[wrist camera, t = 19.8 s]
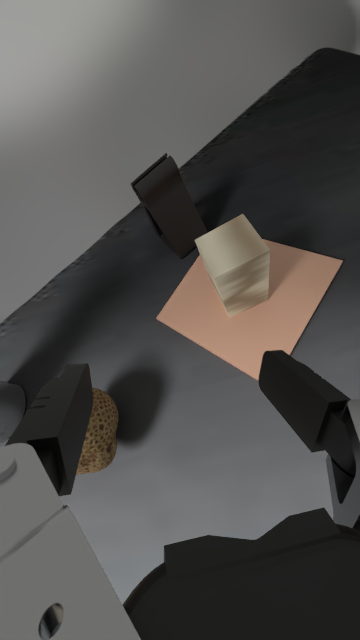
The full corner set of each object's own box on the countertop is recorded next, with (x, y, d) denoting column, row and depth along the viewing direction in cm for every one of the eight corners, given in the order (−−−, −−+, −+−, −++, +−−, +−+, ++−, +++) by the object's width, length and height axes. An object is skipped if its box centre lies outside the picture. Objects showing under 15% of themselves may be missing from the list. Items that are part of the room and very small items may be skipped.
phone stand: (209, 237, 36) (187, 165, 25) (181, 260, 36) (148, 199, 25) (181, 213, 40) (152, 143, 30) (156, 233, 40) (118, 172, 30)
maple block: (229, 317, 29) (214, 278, 20) (213, 287, 31) (194, 240, 22) (268, 300, 28) (270, 250, 19) (248, 269, 30) (242, 213, 22)
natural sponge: (97, 383, 33) (37, 373, 24) (145, 401, 29) (95, 398, 20) (71, 447, 30) (-6, 463, 22) (121, 476, 27) (52, 509, 18)
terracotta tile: (157, 320, 33) (156, 318, 33) (219, 229, 35) (218, 227, 35) (270, 388, 25) (270, 387, 24) (341, 263, 27) (343, 260, 26)
